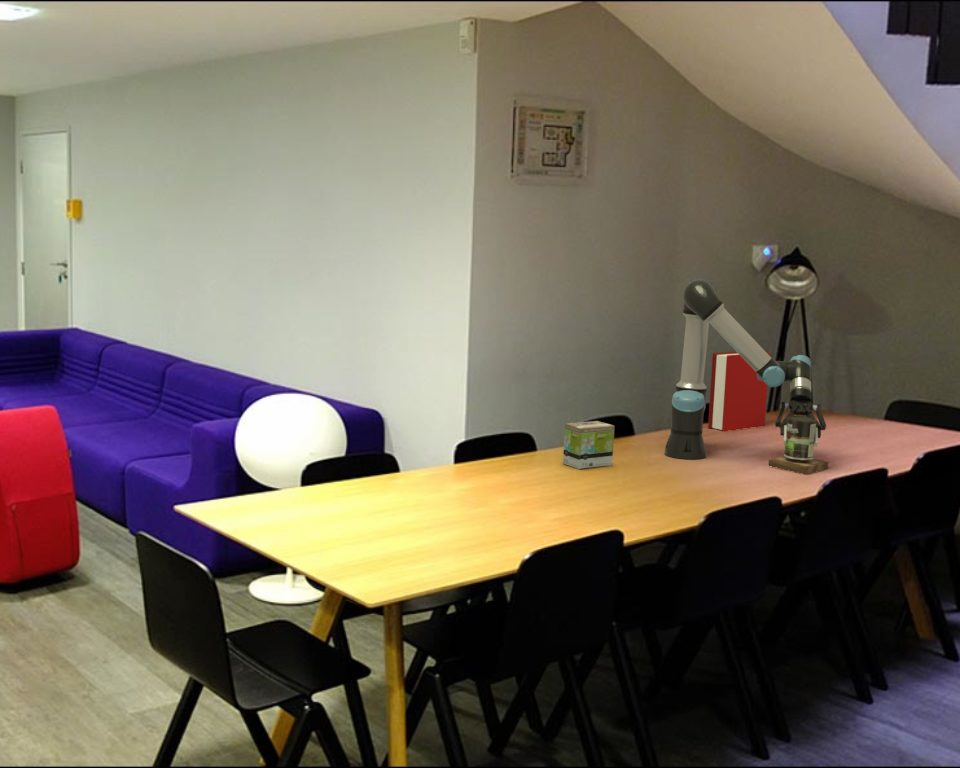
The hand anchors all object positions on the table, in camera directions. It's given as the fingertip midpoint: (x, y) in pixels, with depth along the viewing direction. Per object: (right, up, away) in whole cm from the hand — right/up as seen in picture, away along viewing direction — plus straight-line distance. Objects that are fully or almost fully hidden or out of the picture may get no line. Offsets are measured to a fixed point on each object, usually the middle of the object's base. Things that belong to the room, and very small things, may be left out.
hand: (800, 443), depth 384 cm
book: (-4, +3, +77) cm, 77 cm away
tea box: (-75, -8, -1) cm, 76 cm away
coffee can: (+1, -5, +4) cm, 6 cm away
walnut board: (0, -9, +4) cm, 10 cm away
